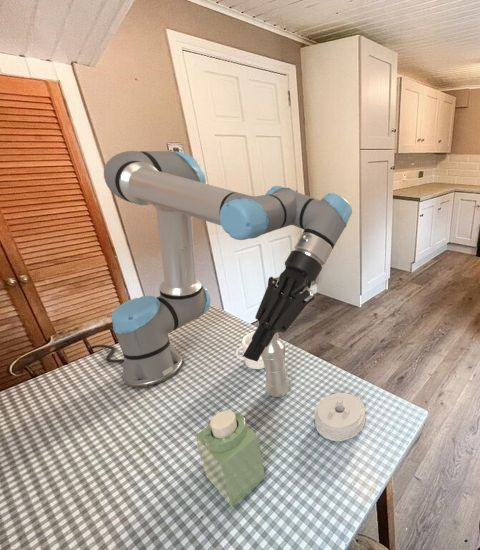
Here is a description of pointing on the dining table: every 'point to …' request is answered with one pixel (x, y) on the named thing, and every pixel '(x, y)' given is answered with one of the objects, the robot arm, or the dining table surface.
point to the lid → (339, 416)
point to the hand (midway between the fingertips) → (250, 358)
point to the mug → (245, 344)
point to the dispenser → (232, 461)
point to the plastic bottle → (275, 368)
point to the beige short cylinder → (223, 424)
